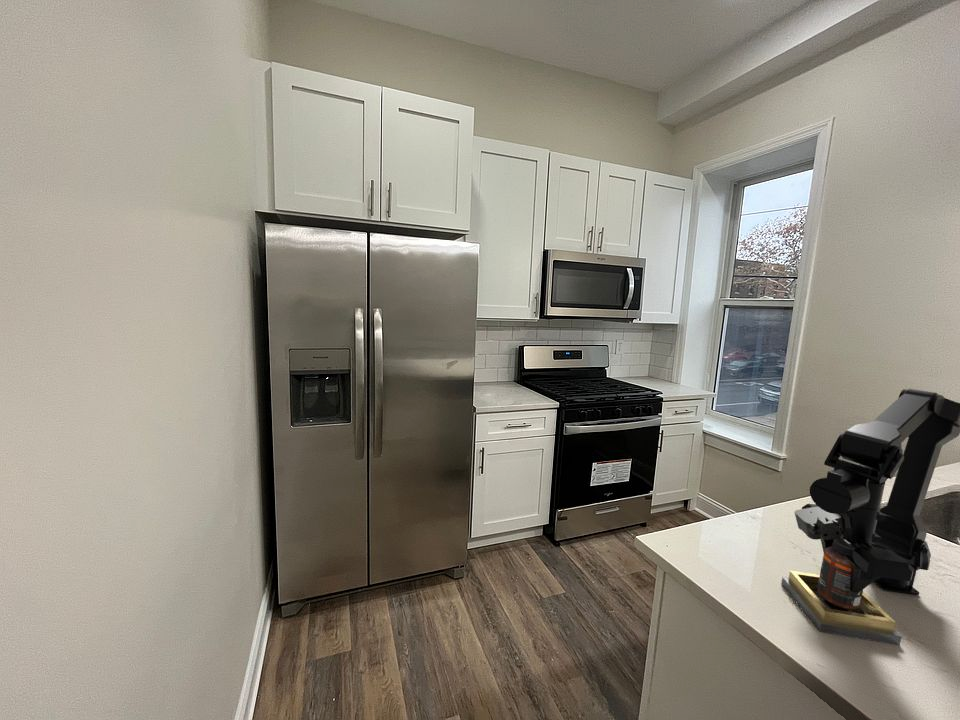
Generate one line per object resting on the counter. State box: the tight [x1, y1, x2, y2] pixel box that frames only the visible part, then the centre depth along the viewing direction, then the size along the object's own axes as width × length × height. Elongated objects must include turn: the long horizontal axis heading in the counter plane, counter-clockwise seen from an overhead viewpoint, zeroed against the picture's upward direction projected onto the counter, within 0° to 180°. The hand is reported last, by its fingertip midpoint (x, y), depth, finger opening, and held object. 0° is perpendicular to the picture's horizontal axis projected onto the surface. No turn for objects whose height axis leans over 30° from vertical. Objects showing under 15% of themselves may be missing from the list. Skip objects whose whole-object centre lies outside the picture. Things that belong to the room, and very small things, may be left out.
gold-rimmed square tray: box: [780, 570, 903, 646], centre depth 74 cm, size 12×12×4 cm
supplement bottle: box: [818, 538, 864, 610], centre depth 73 cm, size 6×6×11 cm
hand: (841, 579), depth 73 cm, fingers closed on supplement bottle, 6 cm apart
